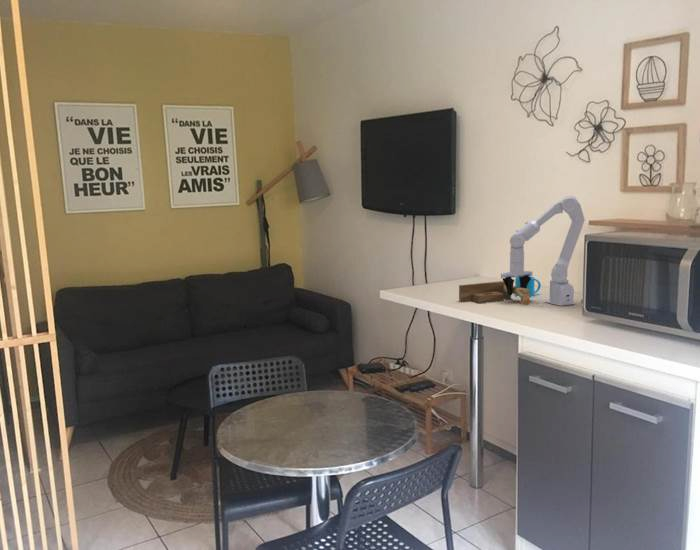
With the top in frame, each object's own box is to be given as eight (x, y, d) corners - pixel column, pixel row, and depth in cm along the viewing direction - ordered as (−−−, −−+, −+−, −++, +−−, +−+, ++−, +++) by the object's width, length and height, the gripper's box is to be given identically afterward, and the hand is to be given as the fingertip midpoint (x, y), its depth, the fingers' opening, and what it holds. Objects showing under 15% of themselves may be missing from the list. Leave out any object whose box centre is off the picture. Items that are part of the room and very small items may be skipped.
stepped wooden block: (513, 299, 271) (513, 283, 270) (469, 304, 263) (469, 288, 262) (502, 296, 279) (502, 281, 278) (459, 301, 271) (459, 285, 270)
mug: (521, 297, 275) (521, 279, 274) (511, 294, 283) (511, 276, 282) (545, 295, 278) (545, 277, 277) (535, 292, 286) (535, 274, 285)
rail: (529, 303, 262) (529, 289, 261) (523, 304, 261) (523, 290, 260) (509, 298, 275) (509, 284, 274) (503, 298, 274) (503, 285, 273)
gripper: (525, 259, 271) (524, 291, 274) (496, 262, 266) (496, 293, 268) (535, 261, 265) (535, 293, 267) (506, 264, 260) (506, 296, 262)
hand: (516, 294), depth 267 cm, fingers open, 6 cm apart
